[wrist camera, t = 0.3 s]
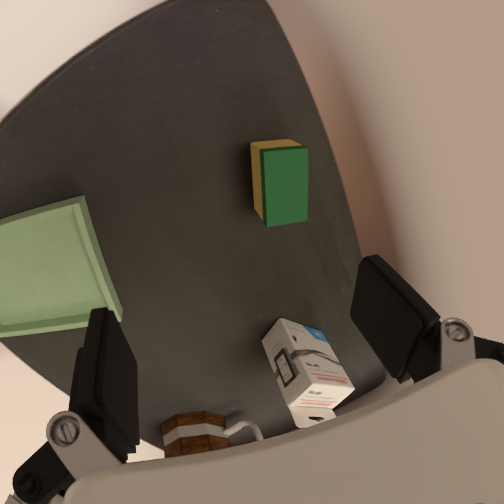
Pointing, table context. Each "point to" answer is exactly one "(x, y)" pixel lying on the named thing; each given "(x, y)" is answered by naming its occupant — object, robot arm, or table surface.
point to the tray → (52, 270)
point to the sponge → (280, 181)
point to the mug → (199, 433)
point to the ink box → (306, 371)
